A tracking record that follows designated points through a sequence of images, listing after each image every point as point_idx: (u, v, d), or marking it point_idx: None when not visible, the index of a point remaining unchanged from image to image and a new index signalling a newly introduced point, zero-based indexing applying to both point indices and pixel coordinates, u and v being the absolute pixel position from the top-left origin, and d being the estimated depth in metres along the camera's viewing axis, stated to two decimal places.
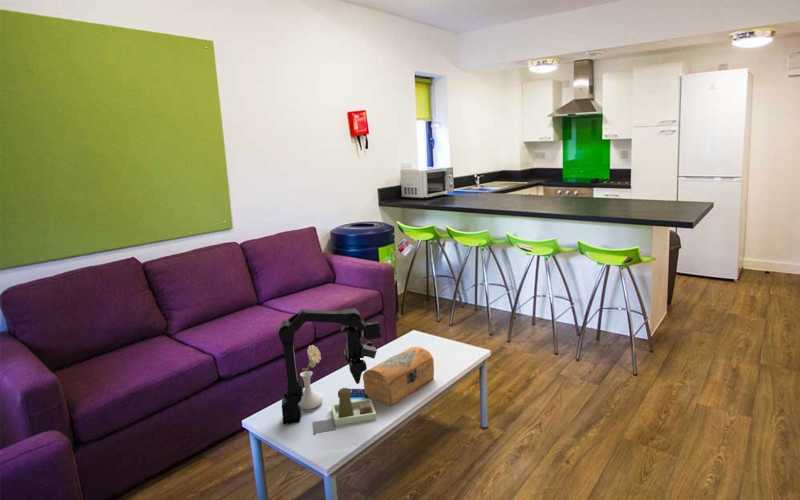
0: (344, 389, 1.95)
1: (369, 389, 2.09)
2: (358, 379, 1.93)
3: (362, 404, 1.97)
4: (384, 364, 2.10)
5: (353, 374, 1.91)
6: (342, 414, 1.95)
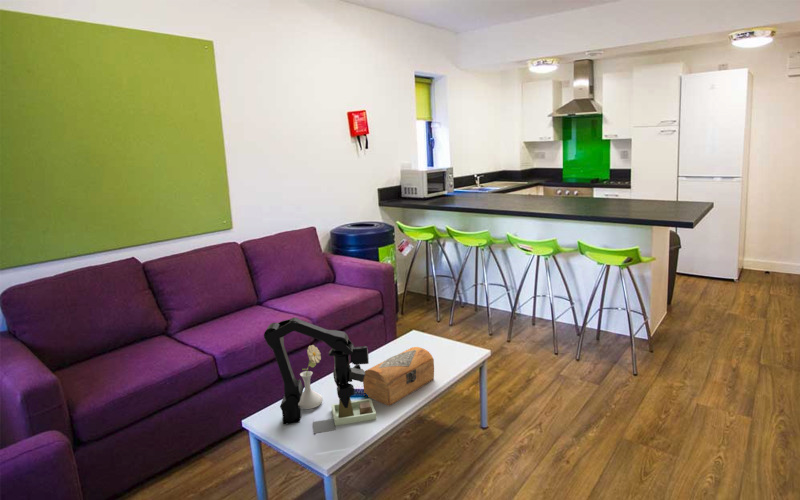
0: None
1: (369, 389, 2.10)
2: (346, 403, 1.91)
3: (362, 404, 1.97)
4: (383, 364, 2.10)
5: (341, 398, 1.89)
6: (342, 414, 1.95)
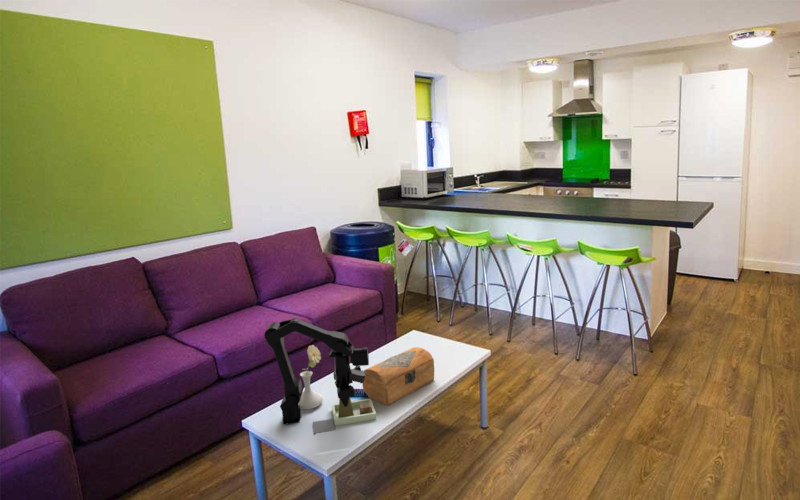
0: None
1: (367, 388, 2.10)
2: (346, 402, 1.93)
3: (362, 404, 1.97)
4: (382, 364, 2.11)
5: (341, 397, 1.91)
6: (342, 414, 1.95)
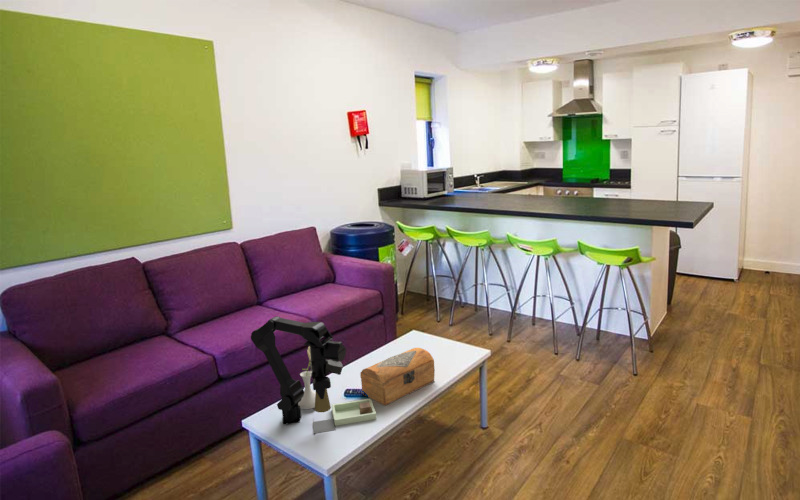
0: None
1: (366, 387, 2.11)
2: (322, 394, 1.85)
3: (362, 404, 1.97)
4: (381, 363, 2.11)
5: (316, 389, 1.83)
6: (319, 406, 1.87)
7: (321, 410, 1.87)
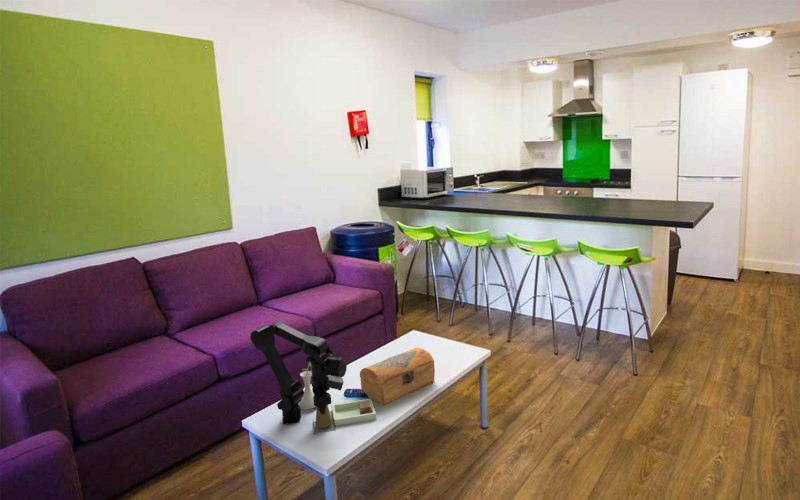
0: None
1: (365, 387, 2.11)
2: (323, 410, 1.86)
3: (362, 404, 1.97)
4: (381, 363, 2.11)
5: None
6: (319, 421, 1.88)
7: (322, 425, 1.88)
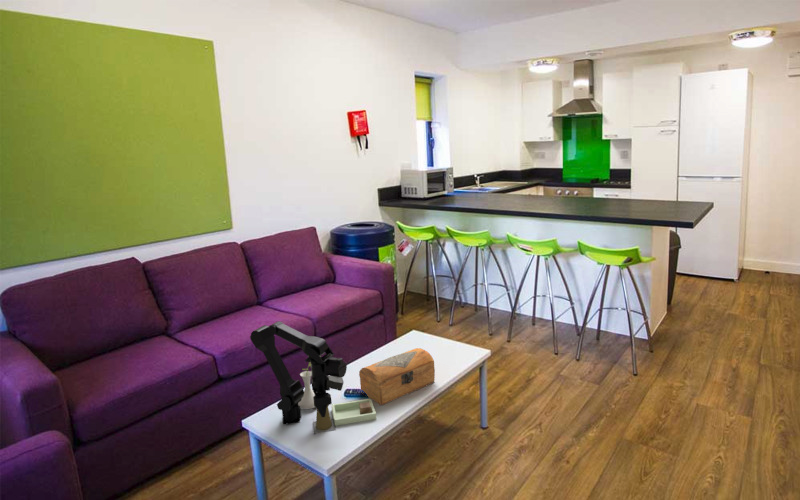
0: None
1: (364, 386, 2.12)
2: (324, 412, 1.84)
3: (362, 404, 1.97)
4: (380, 363, 2.11)
5: (318, 407, 1.83)
6: (320, 424, 1.88)
7: (322, 428, 1.88)
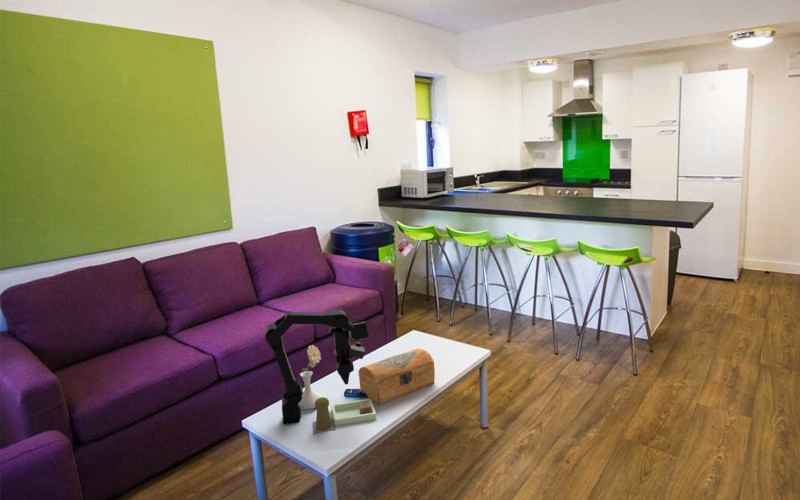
0: (322, 398, 1.89)
1: (363, 386, 2.12)
2: (346, 380, 1.94)
3: (362, 404, 1.97)
4: (379, 363, 2.12)
5: (341, 375, 1.92)
6: (320, 424, 1.88)
7: (322, 428, 1.88)
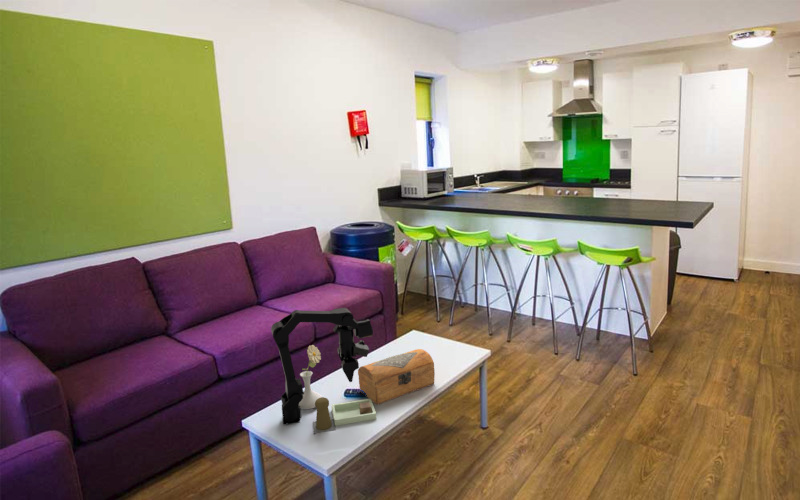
0: (322, 398, 1.89)
1: (362, 385, 2.13)
2: (351, 377, 1.97)
3: (362, 404, 1.97)
4: (378, 362, 2.12)
5: (346, 372, 1.95)
6: (320, 424, 1.88)
7: (322, 428, 1.88)
